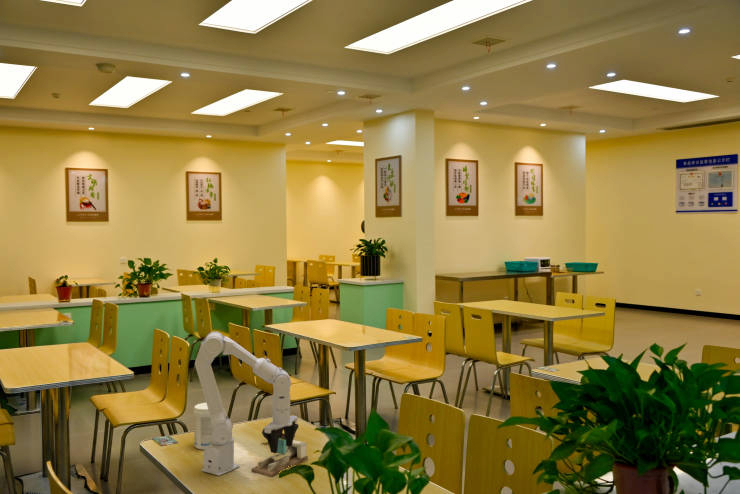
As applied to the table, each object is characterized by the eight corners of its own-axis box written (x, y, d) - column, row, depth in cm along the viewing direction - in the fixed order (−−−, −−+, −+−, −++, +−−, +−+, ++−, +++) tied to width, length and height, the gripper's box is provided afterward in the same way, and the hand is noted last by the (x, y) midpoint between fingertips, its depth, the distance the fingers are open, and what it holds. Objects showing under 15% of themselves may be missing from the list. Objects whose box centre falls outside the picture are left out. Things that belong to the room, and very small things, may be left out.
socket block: (300, 458, 213) (300, 445, 213) (283, 454, 217) (283, 441, 217) (306, 456, 216) (306, 442, 216) (289, 452, 220) (289, 439, 220)
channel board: (271, 477, 200) (271, 467, 200) (251, 471, 204) (251, 462, 204) (307, 459, 216) (307, 450, 216) (288, 454, 220) (288, 446, 220)
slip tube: (277, 465, 207) (277, 443, 207) (270, 463, 208) (270, 441, 208) (300, 454, 217) (300, 433, 217) (293, 453, 219) (293, 431, 218)
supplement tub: (227, 444, 231) (227, 403, 231) (210, 452, 222) (210, 410, 222) (205, 440, 235) (205, 400, 235) (188, 448, 226) (188, 407, 226)
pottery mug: (293, 439, 238) (298, 424, 234) (289, 459, 229) (293, 442, 225) (261, 432, 237) (266, 416, 233) (256, 451, 228) (260, 434, 225)
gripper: (276, 415, 202) (276, 458, 202) (304, 405, 214) (304, 445, 215) (259, 412, 206) (259, 453, 206) (288, 402, 218) (288, 441, 218)
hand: (281, 449), depth 210 cm, fingers open, 7 cm apart
